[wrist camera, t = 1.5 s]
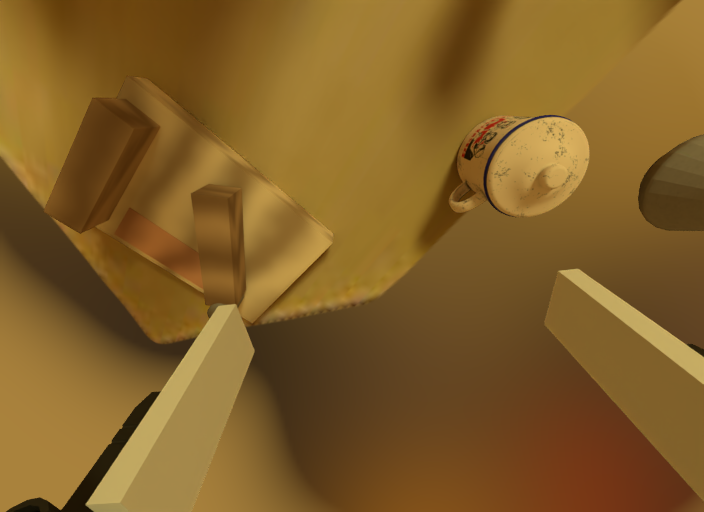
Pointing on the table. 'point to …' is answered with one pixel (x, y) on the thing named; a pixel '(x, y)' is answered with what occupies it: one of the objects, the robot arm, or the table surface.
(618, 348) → the robot arm
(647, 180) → the coffee pot
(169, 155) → the wooden board with block
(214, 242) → the hinged leg
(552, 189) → the teacup with lid
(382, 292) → the table surface
